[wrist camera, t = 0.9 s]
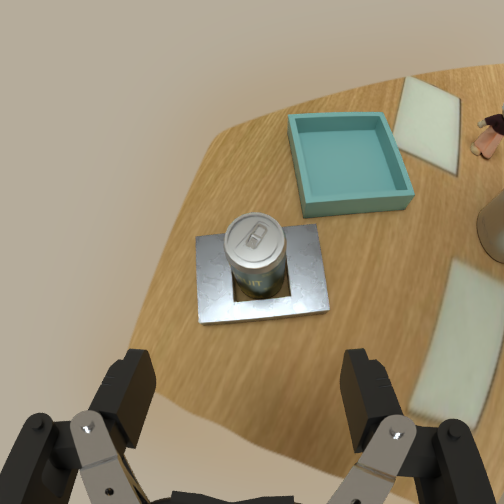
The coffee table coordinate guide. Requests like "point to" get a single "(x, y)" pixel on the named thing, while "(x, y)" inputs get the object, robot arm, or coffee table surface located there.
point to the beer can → (256, 254)
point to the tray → (347, 164)
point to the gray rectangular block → (298, 304)
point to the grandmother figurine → (489, 135)
